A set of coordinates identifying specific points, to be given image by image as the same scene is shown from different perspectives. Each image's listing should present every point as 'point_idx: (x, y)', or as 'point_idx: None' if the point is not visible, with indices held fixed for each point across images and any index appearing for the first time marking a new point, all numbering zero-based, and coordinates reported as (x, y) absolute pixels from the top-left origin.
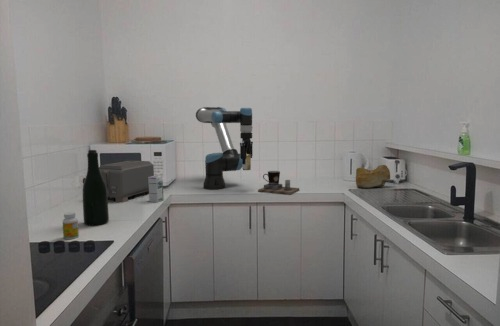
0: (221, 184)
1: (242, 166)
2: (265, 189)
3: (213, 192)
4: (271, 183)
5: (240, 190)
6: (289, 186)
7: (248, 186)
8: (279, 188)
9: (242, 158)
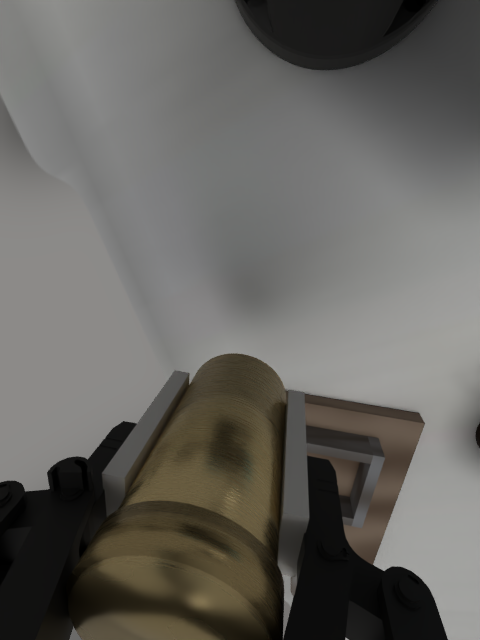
0: (291, 40)
1: (161, 390)
2: None
3: (123, 80)
4: (368, 470)
5: (269, 260)
6: None
7: (463, 259)
8: None
9: (35, 502)
